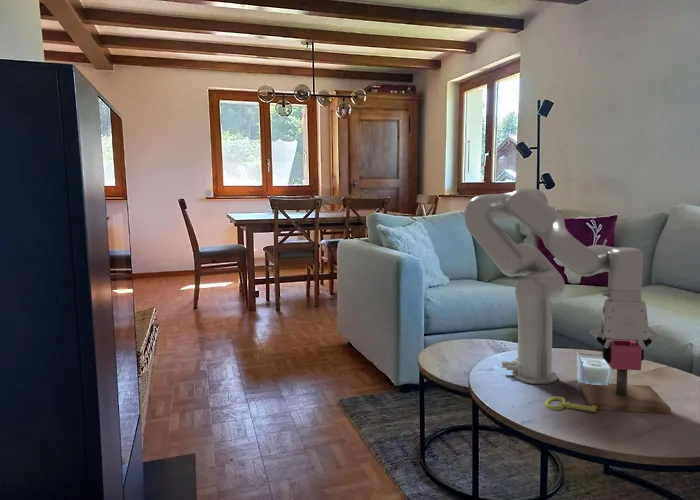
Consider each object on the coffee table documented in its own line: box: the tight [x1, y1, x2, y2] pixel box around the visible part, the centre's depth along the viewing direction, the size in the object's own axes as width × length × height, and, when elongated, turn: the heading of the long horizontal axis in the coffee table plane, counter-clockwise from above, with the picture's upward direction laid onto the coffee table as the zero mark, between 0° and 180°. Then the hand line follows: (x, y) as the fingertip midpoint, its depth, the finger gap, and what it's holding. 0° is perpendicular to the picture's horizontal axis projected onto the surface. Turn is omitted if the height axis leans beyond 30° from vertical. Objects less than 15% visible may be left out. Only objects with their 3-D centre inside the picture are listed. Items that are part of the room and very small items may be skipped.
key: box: [544, 396, 597, 413], centre depth 123 cm, size 7×12×2 cm, turn 69°
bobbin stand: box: [578, 369, 672, 415], centre depth 126 cm, size 18×14×8 cm
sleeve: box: [607, 340, 642, 371], centre depth 125 cm, size 7×7×6 cm
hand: (622, 361), depth 125 cm, fingers closed on sleeve, 6 cm apart
